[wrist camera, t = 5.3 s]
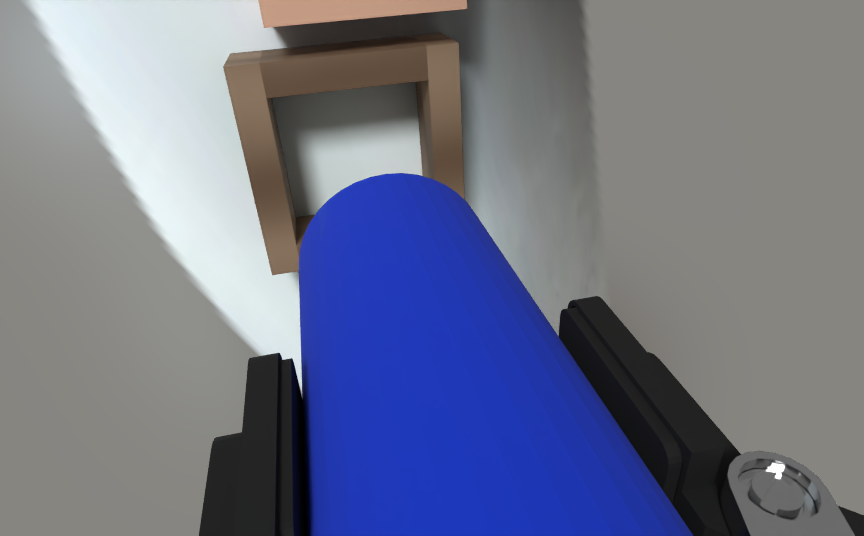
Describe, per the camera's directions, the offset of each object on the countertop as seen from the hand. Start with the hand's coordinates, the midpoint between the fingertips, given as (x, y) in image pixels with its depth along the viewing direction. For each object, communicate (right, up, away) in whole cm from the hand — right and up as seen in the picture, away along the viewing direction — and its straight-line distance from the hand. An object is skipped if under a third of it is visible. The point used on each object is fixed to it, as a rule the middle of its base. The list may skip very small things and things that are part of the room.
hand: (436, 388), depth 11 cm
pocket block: (-4, +8, +16) cm, 18 cm away
